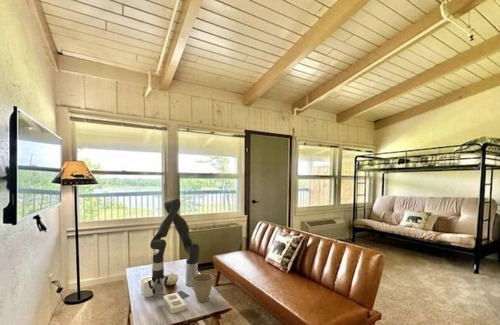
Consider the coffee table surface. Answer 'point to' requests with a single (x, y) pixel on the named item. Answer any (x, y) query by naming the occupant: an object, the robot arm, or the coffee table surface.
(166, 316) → the coffee table surface
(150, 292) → the cable organizer
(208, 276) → the plant pot
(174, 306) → the outlet plate
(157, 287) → the block
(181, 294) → the phone slab
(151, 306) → the coffee table surface
